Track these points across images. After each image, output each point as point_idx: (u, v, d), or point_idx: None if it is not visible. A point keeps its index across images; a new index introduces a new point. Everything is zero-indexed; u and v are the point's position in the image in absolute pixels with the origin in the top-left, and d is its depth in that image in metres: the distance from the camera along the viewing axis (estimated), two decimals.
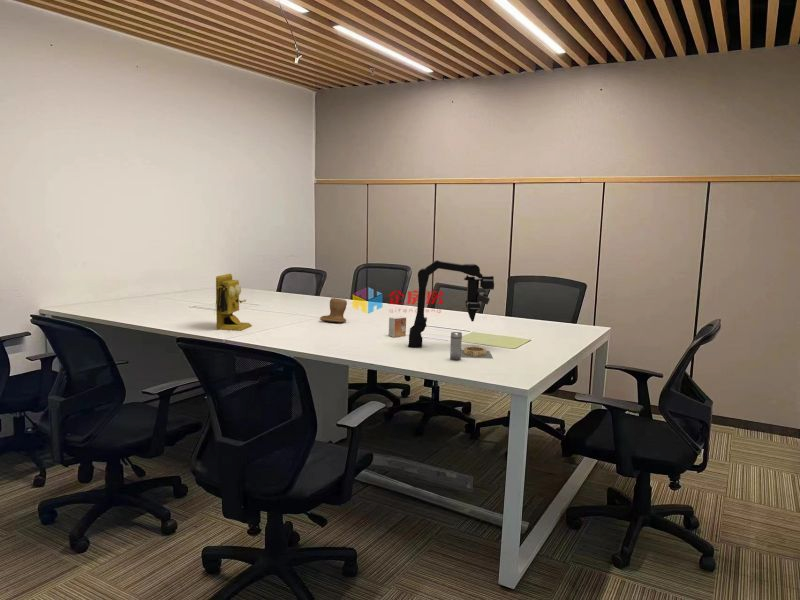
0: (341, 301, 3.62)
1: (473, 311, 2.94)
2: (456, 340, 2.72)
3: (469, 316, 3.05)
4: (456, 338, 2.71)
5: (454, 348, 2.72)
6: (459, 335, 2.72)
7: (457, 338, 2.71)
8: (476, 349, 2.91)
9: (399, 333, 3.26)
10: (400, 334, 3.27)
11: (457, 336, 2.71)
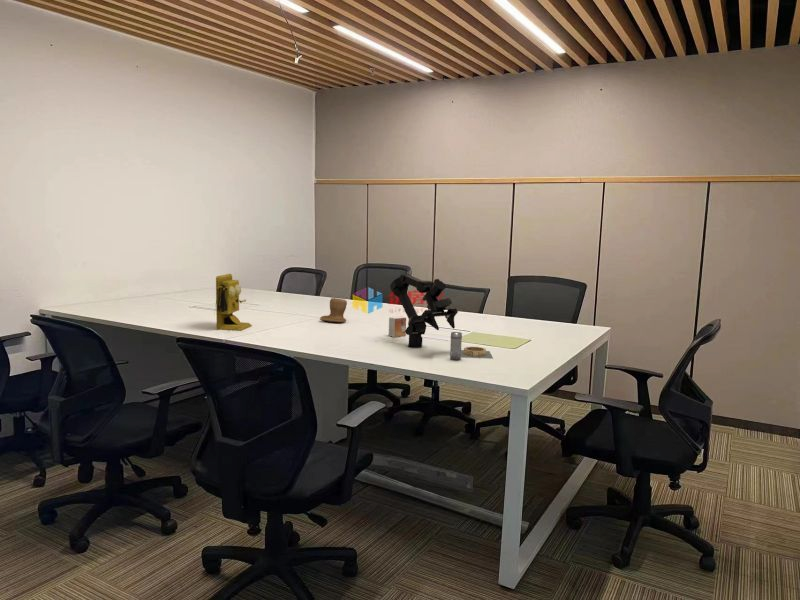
0: (341, 301, 3.62)
1: (432, 320, 2.80)
2: (456, 340, 2.72)
3: (452, 327, 2.84)
4: (456, 338, 2.71)
5: (454, 348, 2.72)
6: (459, 335, 2.72)
7: (457, 338, 2.71)
8: (476, 349, 2.91)
9: (399, 333, 3.26)
10: (400, 334, 3.27)
11: (457, 336, 2.71)
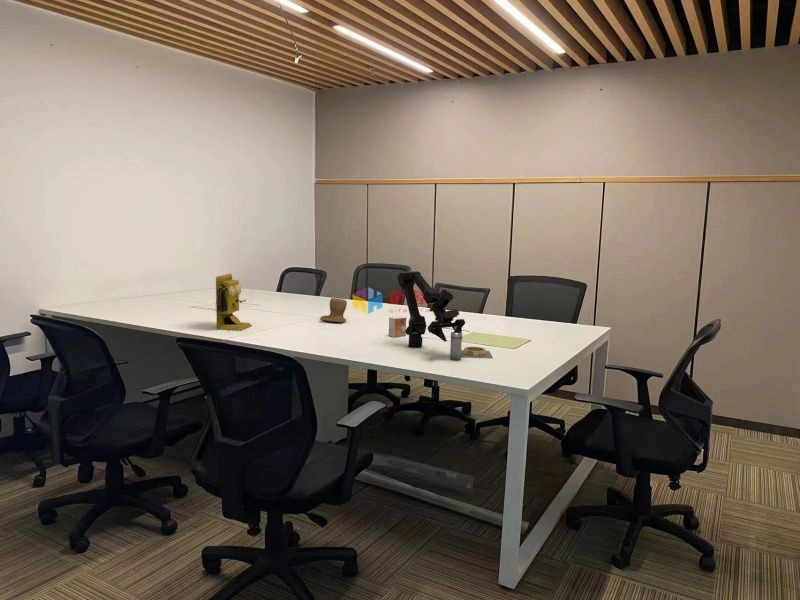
0: (341, 301, 3.62)
1: (439, 332, 2.75)
2: (456, 340, 2.72)
3: None
4: (456, 338, 2.71)
5: (454, 348, 2.72)
6: (459, 335, 2.72)
7: (457, 338, 2.71)
8: (476, 349, 2.91)
9: (399, 333, 3.26)
10: (400, 334, 3.27)
11: (457, 336, 2.71)
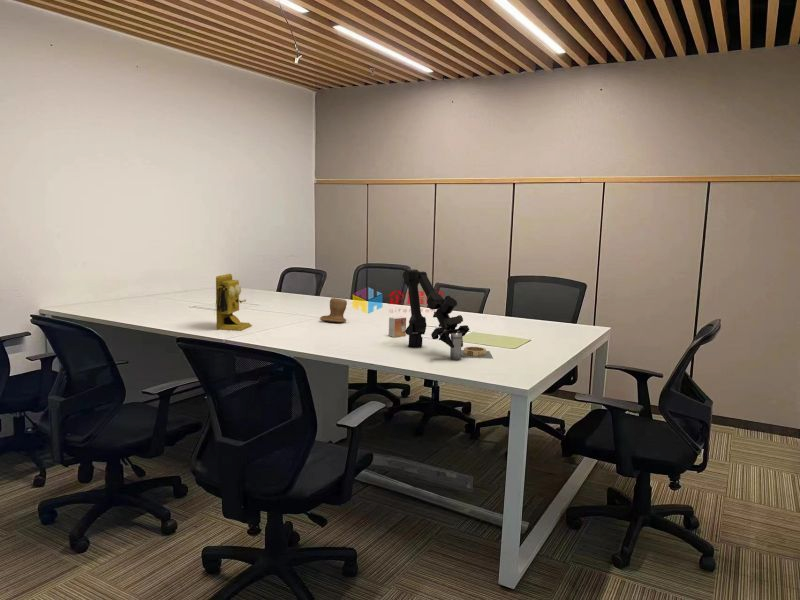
0: (341, 301, 3.62)
1: (446, 338, 2.74)
2: (456, 340, 2.72)
3: None
4: (456, 338, 2.71)
5: (454, 348, 2.72)
6: (459, 335, 2.72)
7: (457, 338, 2.71)
8: (476, 349, 2.91)
9: (399, 333, 3.26)
10: (400, 334, 3.27)
11: (457, 336, 2.71)
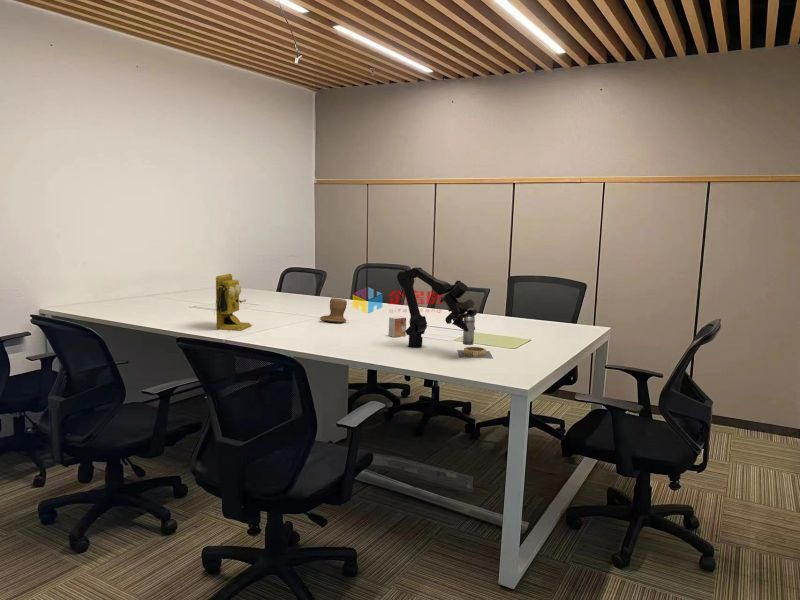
0: (341, 301, 3.62)
1: (460, 322, 2.77)
2: (470, 323, 2.76)
3: None
4: (470, 322, 2.76)
5: (468, 332, 2.77)
6: (473, 319, 2.77)
7: (471, 322, 2.76)
8: (476, 349, 2.91)
9: (399, 333, 3.26)
10: (400, 334, 3.27)
11: (471, 320, 2.76)
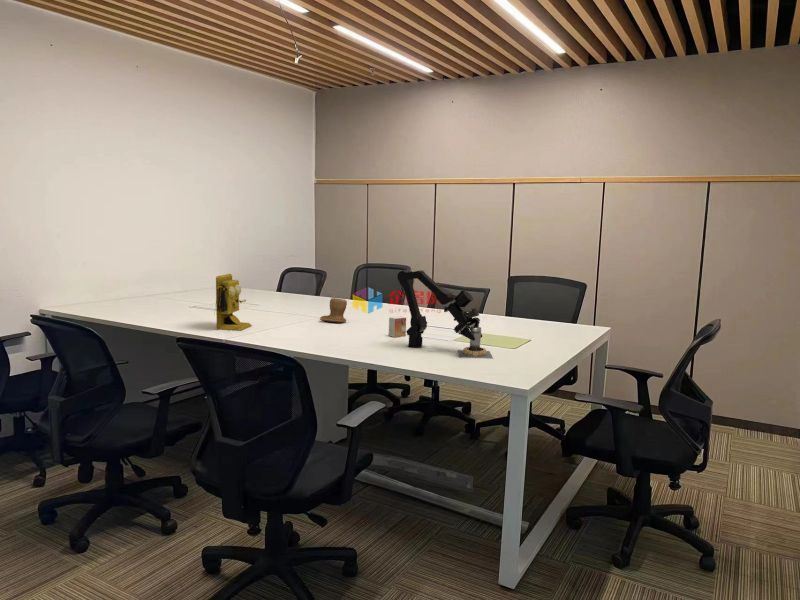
0: (341, 301, 3.62)
1: (466, 331, 2.82)
2: (478, 334, 2.83)
3: None
4: (478, 332, 2.83)
5: (476, 342, 2.84)
6: (480, 329, 2.84)
7: (479, 332, 2.83)
8: None
9: (399, 333, 3.26)
10: (400, 334, 3.27)
11: (479, 330, 2.83)
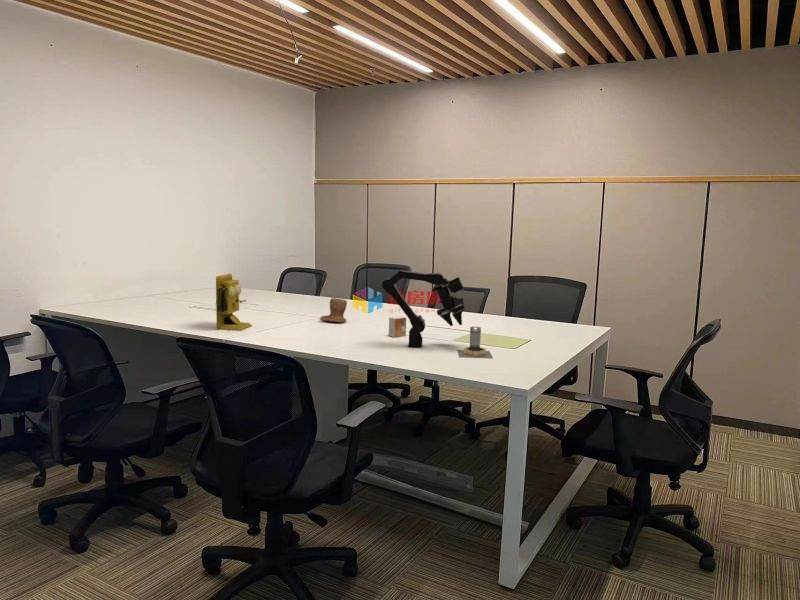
0: (341, 301, 3.62)
1: (458, 315, 2.94)
2: (478, 334, 2.83)
3: (450, 324, 3.03)
4: (478, 332, 2.83)
5: (475, 342, 2.84)
6: (480, 329, 2.84)
7: (479, 332, 2.83)
8: None
9: (399, 333, 3.26)
10: (400, 334, 3.27)
11: (479, 330, 2.83)
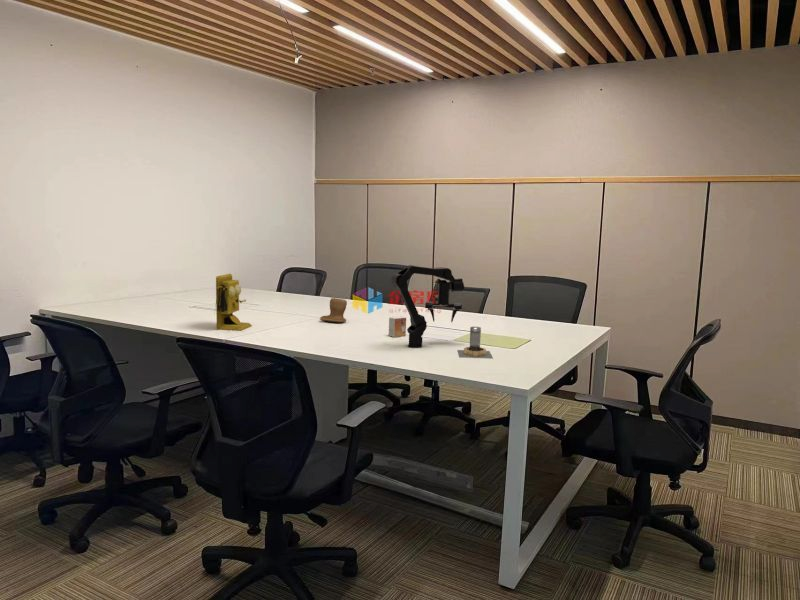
0: (341, 301, 3.62)
1: None
2: (478, 334, 2.83)
3: None
4: (478, 332, 2.83)
5: (475, 342, 2.84)
6: (480, 329, 2.84)
7: (479, 332, 2.83)
8: None
9: (399, 333, 3.26)
10: (400, 334, 3.27)
11: (479, 330, 2.83)
